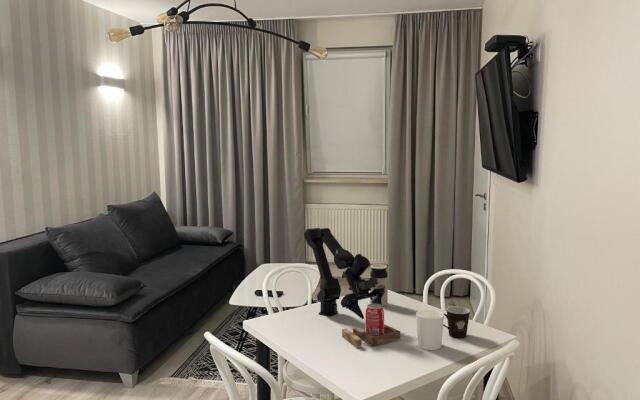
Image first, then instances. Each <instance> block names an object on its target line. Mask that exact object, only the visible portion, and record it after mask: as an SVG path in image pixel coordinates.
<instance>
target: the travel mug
mask: <svg viewBox="0 0 640 400" xmlns="http://www.w3.org/2000/svg"><path fill="white" fill-rule="evenodd" d="M370 268H371V270H370V272H369V275H370V277H369V279H370V278H372V277H376V279H377V281H378V284H377V285H375V286H376V287H373V288H371V290H370V291H369V293H370V292H372V291H373V290H374V288H379V287H382V288H384V290H385V293H384V295H383V296H382V299H381V303H382V307H385V306H387V305H388V299H389V298H388V294H389V291H388V287H389V286H388V283H389V282H388V279H389V278H388V275H389V274H388V270H387V268H388V265H386V264H379V263H378V264H376V263H375V264H370ZM369 301H370V302H369V304H373V303H372V301H373V300H371V299H370V298H369Z"/></svg>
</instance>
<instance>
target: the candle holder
mask: <svg viewBox="0 0 640 400" xmlns="http://www.w3.org/2000/svg"><path fill="white" fill-rule="evenodd" d="M444 314H445V313H444ZM444 314H443V312H441V311H438V310H435V309H420V310H417V311H416V312H415V318H416V334H417V335H416V336H417V338H416V339H417V346H418V347H419V348H420V349H423V350H425V351H438V350H440V349H441V348H442V343H443V341H442V340H443V330H444V326H443V324H444V317H445V315H444Z"/></svg>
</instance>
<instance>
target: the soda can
mask: <svg viewBox="0 0 640 400" xmlns="http://www.w3.org/2000/svg"><path fill="white" fill-rule="evenodd" d="M366 306H367V307H366V309H365V315H364V319H365V331H366V333H368V334H370V335H372V336H374V337H376V336H380V335H383V334H384V324H385V310H384V308H383V306H382V305H381V304H370V303H368V304H367V305H366Z"/></svg>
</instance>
